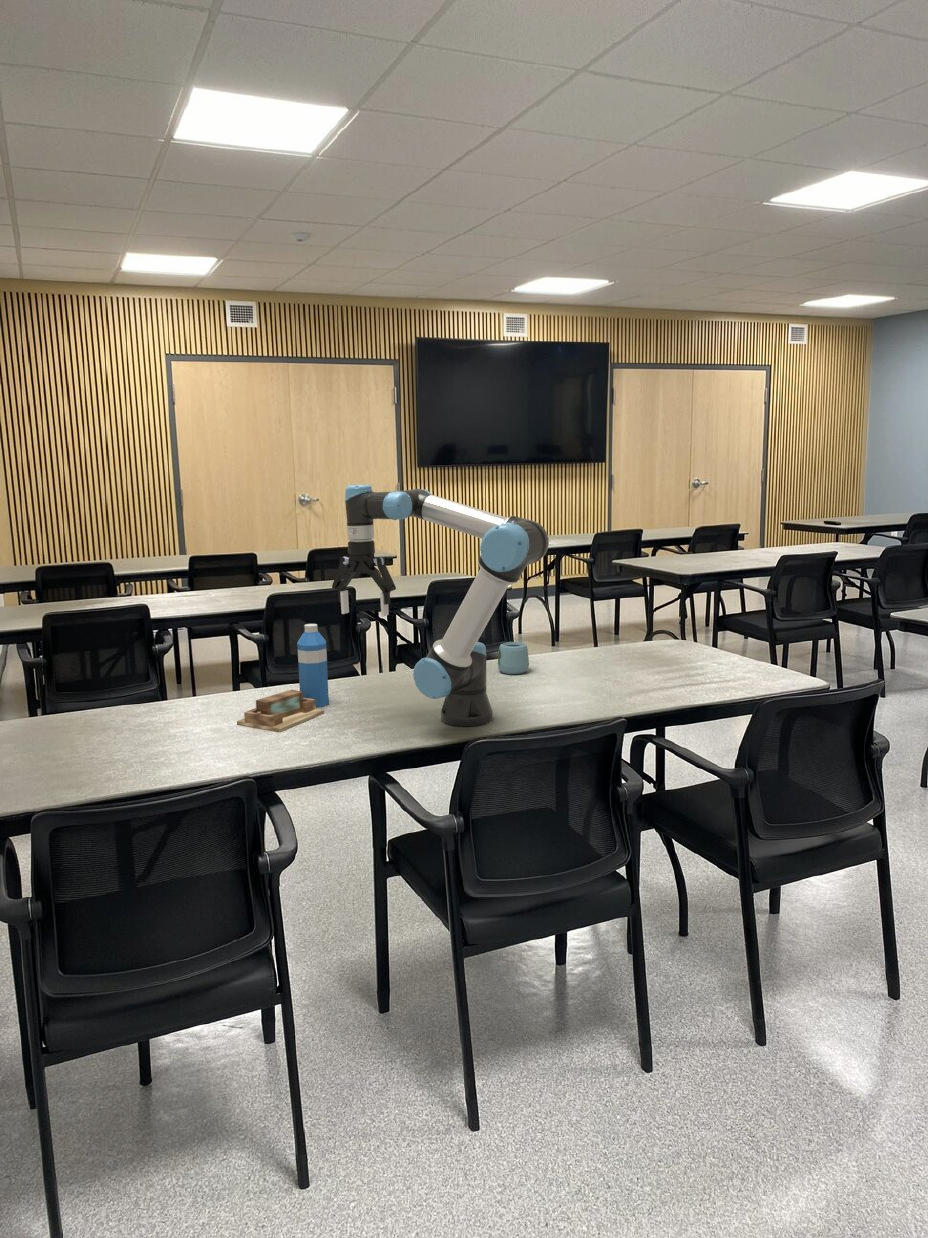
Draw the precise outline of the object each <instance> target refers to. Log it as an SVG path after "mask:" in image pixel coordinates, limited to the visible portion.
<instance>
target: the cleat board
mask: <svg viewBox="0 0 928 1238" xmlns="http://www.w3.org/2000/svg"><path fill="white" fill-rule="evenodd" d="M301 704H302V712H299V713H296V714H293V715H290V716H287V717H284V718H283V717H282V712H277V713H274V714H272V715H266V714H261V712H260V711H259V712H256V707H255V708H252V709H250V710H247V711H244V713H243V714H244V717H243V718H241V719H239V720H237V721H236V725H239V726H244V727H249V728H255V729H260V730H261V729H262V730H267V731H273V732H277V733H281V732H283V731H287V730H289V729H291V728H293V727H296V726H298V725H300V724H303V723H305V722H308V721H310V720H313V719H315V718H317V717H319V716H321V715H324V714H325V710H324V709H318V708H316V703H315V699H309V698H303V702H302V703H301Z"/></svg>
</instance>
